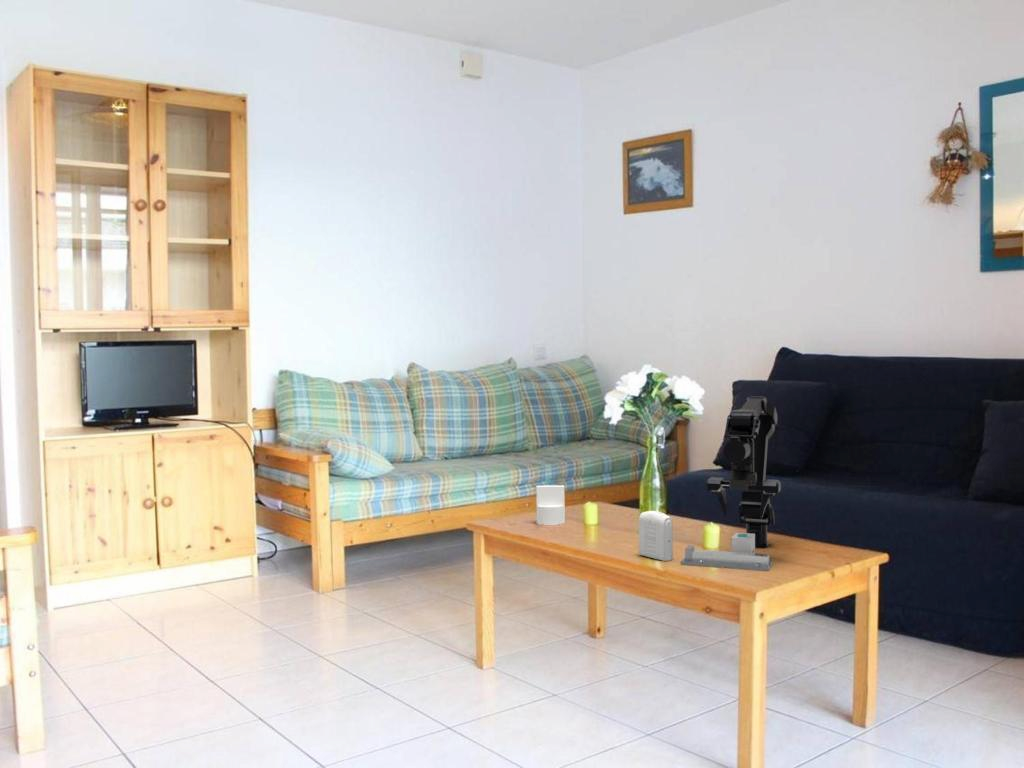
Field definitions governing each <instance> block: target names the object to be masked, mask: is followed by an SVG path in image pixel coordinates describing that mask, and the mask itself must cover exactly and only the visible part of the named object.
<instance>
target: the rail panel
mask: <svg viewBox="0 0 1024 768" xmlns="http://www.w3.org/2000/svg"><path fill="white" fill-rule="evenodd" d="M681 564H682V566H697V567H707V566H712V567H711V568H721V567H727V568H726V569H734V568H737V570H748V569H750V570H752V571H761V572H762V571H763V570H764V572H769V570H770V569H771V567H772V566H771V565H773V560H770V554H767V553H756V552H755V553H742V552H732V551H725V550H712V549H711V550H710V549H695V545H690V544H688V545H687V546H686V547H685V548H684V558H682V559H681V561H680V565H681ZM750 570H749V571H750Z"/></svg>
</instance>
